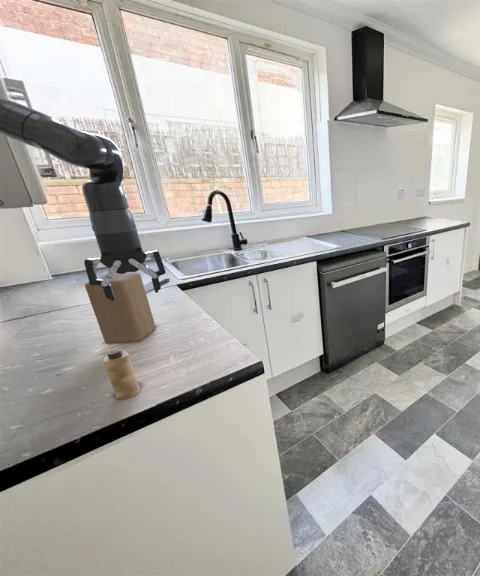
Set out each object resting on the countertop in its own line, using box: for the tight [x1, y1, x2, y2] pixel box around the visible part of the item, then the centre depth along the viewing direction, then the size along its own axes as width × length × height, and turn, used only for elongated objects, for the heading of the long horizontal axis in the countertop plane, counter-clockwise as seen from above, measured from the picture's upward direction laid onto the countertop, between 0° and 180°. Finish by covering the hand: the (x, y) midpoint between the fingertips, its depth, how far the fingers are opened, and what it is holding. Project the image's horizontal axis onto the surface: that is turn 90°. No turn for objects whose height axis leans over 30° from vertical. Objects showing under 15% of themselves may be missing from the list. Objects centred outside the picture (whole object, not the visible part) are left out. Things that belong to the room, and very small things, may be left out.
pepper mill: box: [102, 348, 141, 400], centre depth 70 cm, size 4×4×11 cm
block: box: [84, 272, 156, 345], centre depth 96 cm, size 10×10×20 cm
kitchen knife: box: [143, 278, 170, 293], centre depth 140 cm, size 4×1×30 cm
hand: (135, 295), depth 76 cm, fingers open, 8 cm apart
